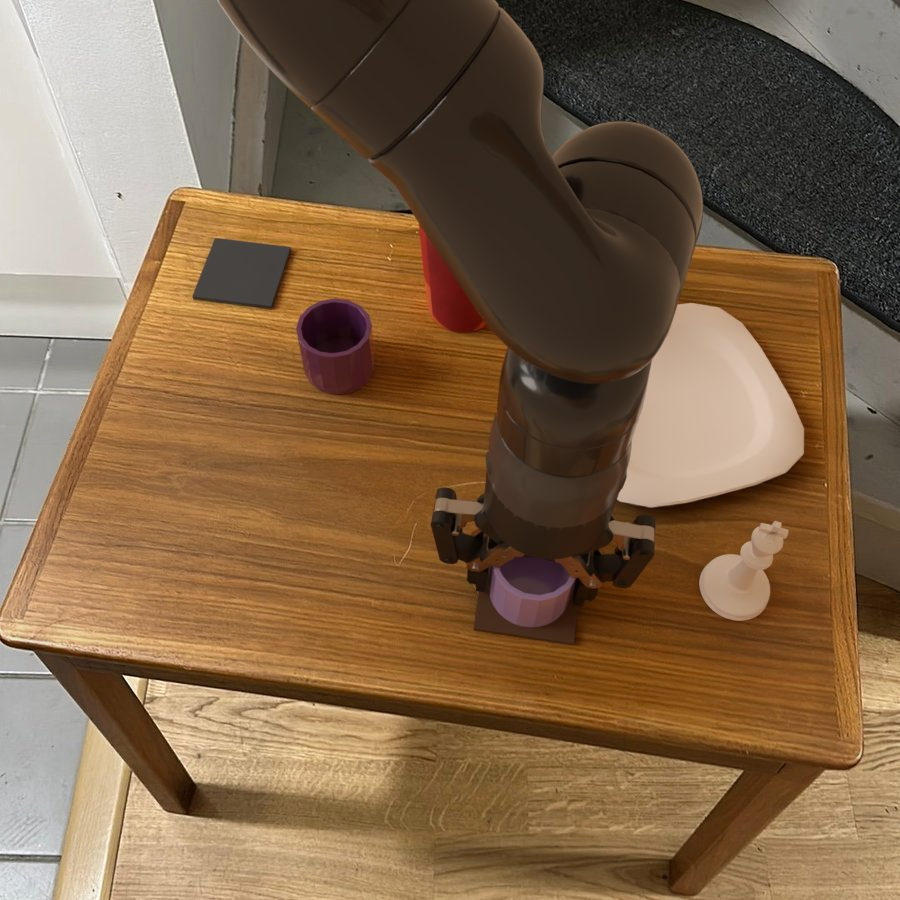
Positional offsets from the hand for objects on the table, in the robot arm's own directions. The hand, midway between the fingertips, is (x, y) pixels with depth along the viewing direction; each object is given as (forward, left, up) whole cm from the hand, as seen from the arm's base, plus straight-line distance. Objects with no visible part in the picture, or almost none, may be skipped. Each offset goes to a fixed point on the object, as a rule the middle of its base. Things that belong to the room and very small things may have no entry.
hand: (530, 586), depth 65 cm
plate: (+9, +17, -1) cm, 20 cm away
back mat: (-28, +26, -1) cm, 38 cm away
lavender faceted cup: (0, 0, -1) cm, 1 cm away
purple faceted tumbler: (-18, +17, -1) cm, 25 cm away
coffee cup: (-9, +25, -1) cm, 27 cm away
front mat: (0, 0, -1) cm, 1 cm away
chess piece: (+14, +2, -1) cm, 15 cm away
